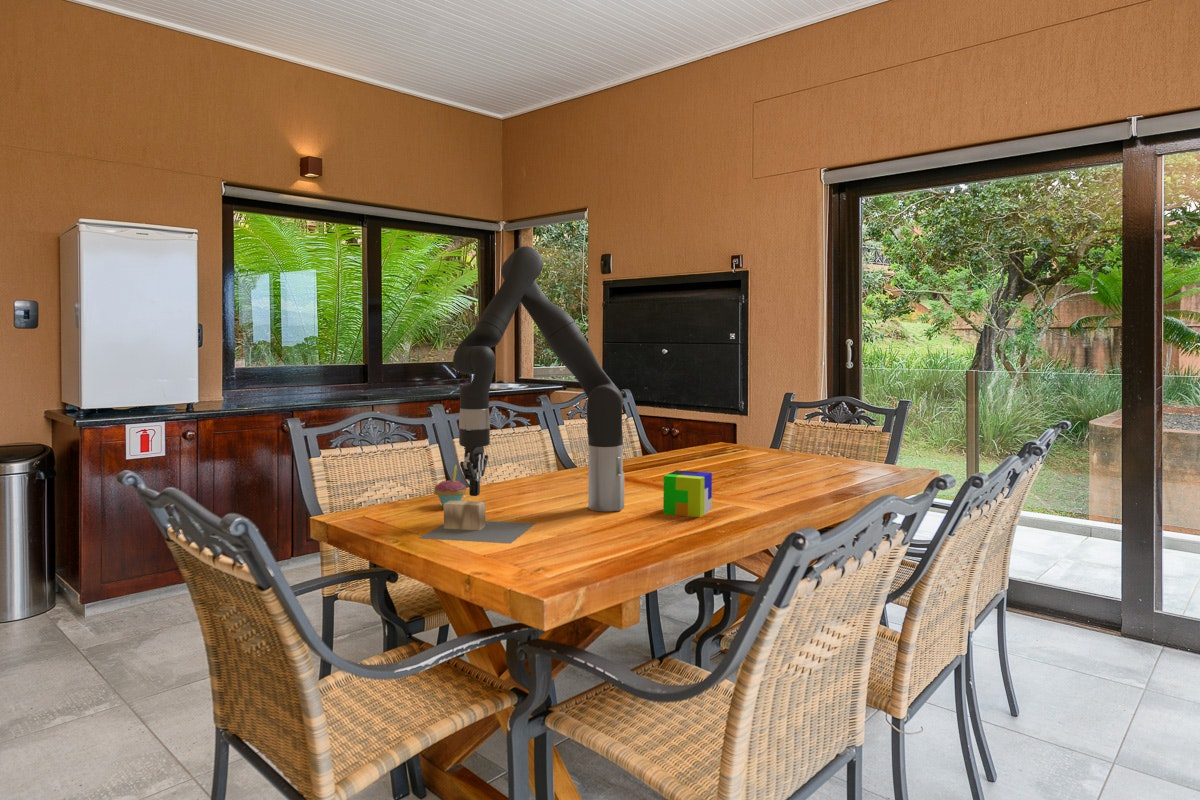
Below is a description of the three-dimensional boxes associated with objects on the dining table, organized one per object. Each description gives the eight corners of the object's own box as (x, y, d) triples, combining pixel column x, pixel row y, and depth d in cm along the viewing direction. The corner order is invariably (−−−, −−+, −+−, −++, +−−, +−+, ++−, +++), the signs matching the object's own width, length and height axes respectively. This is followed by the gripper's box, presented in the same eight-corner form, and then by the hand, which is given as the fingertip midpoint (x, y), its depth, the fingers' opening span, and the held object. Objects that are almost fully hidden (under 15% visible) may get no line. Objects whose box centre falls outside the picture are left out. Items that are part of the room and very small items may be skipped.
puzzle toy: (711, 509, 205) (711, 472, 204) (700, 517, 196) (700, 478, 195) (676, 506, 209) (676, 470, 208) (663, 513, 200) (663, 476, 199)
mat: (535, 524, 188) (535, 523, 188) (510, 544, 169) (510, 543, 169) (451, 520, 193) (451, 519, 193) (418, 539, 174) (418, 537, 174)
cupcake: (472, 504, 212) (471, 461, 211) (456, 510, 204) (455, 465, 203) (444, 502, 215) (444, 459, 214) (428, 508, 207) (427, 464, 206)
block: (485, 501, 185) (450, 500, 186) (479, 505, 181) (443, 503, 182) (485, 526, 185) (450, 524, 187) (479, 530, 181) (443, 528, 183)
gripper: (470, 423, 197) (470, 489, 198) (449, 428, 184) (449, 499, 186) (498, 424, 195) (498, 491, 197) (478, 430, 183) (478, 501, 184)
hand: (474, 495), depth 191 cm, fingers closed
